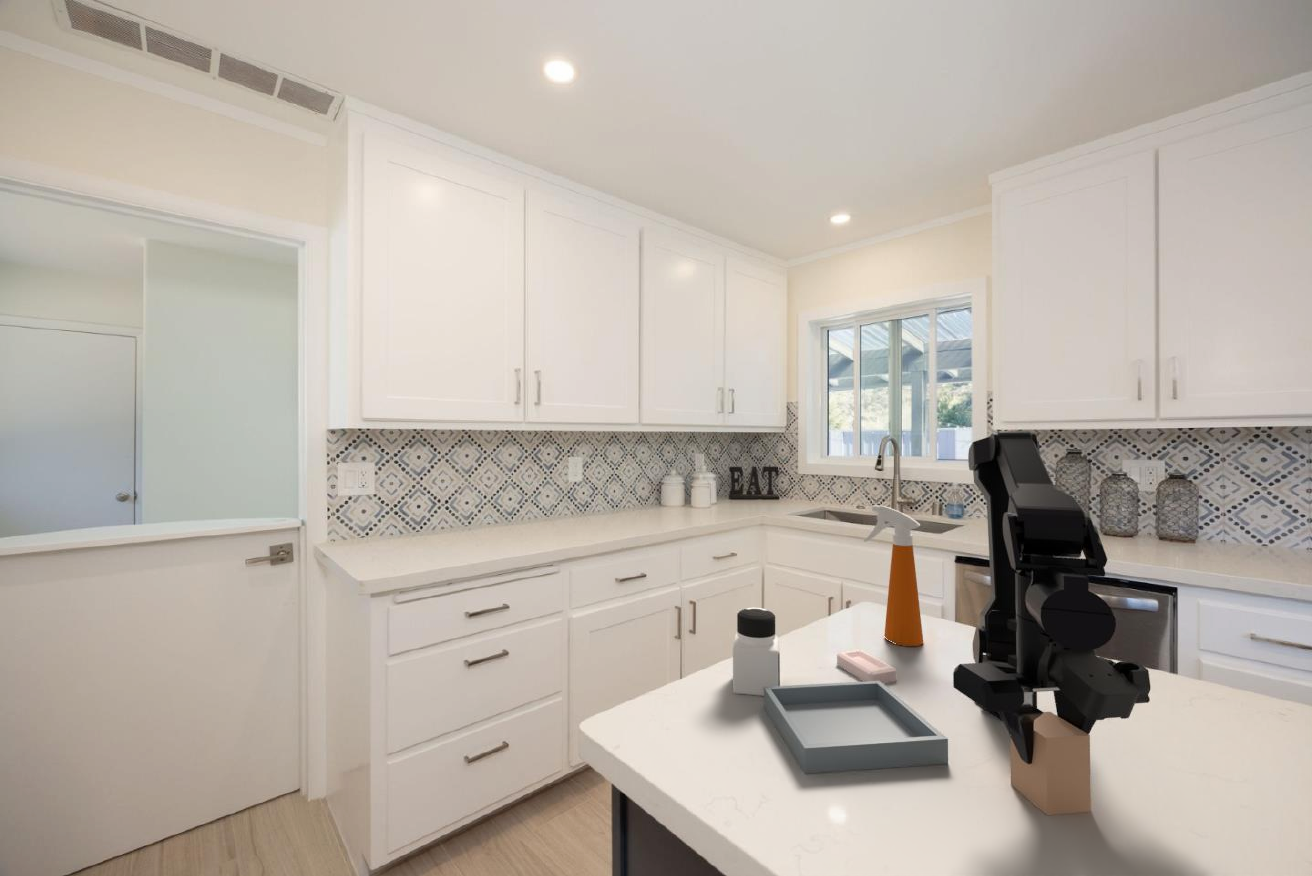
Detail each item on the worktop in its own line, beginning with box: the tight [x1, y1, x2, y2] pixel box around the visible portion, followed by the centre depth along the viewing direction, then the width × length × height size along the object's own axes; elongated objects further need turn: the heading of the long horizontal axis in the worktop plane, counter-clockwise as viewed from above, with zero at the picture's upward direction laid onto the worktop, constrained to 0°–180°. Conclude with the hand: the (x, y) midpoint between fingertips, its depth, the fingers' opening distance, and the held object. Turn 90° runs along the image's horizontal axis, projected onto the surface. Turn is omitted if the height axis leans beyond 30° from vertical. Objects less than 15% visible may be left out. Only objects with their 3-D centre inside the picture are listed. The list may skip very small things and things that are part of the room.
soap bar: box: [836, 649, 897, 684], centre depth 91 cm, size 5×9×2 cm, turn 18°
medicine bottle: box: [732, 607, 781, 697], centre depth 86 cm, size 7×7×12 cm
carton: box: [1009, 711, 1092, 816], centre depth 59 cm, size 5×5×8 cm
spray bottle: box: [863, 504, 924, 647], centre depth 107 cm, size 7×11×26 cm, turn 55°
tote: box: [763, 681, 949, 775], centre depth 72 cm, size 18×16×3 cm
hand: (1048, 760), depth 59 cm, fingers closed on carton, 5 cm apart
